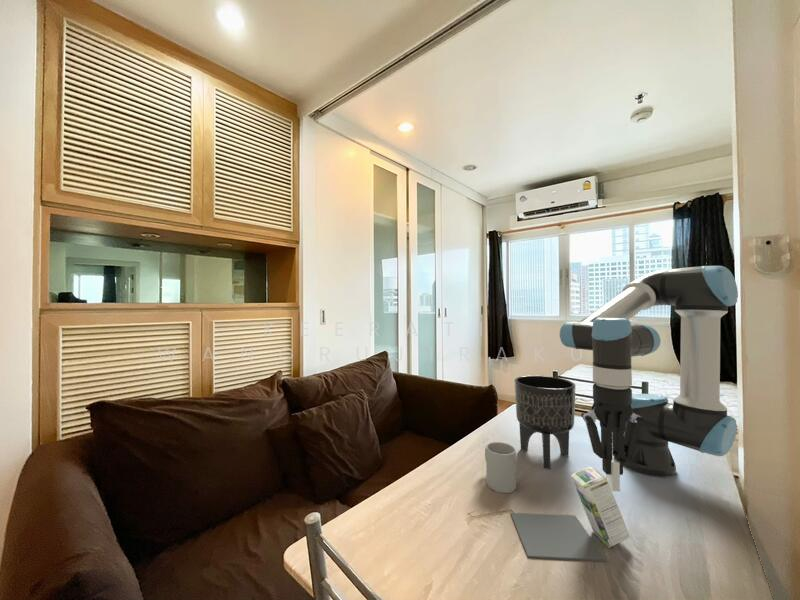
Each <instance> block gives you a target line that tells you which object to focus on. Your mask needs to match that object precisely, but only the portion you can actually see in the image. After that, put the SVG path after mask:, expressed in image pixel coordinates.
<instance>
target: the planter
mask: <svg viewBox="0 0 800 600" xmlns="http://www.w3.org/2000/svg"><path fill="white" fill-rule="evenodd" d="M514 394H515V411H516V412H515V414H516V420H517V422H518V423H519V437H520V440H519V442H520V450H522V451H524V452H526V451H527V450H528V449H529V443H530V440H531V439H530V438H532V435H534V434H536V433H538V434H541V439H542V440H541V441H542V461H543V462H542V465H543V469H548V470H551V435H553V436H554V437H555V439H556V440H557V441H558V442H557V443H558V445H559V450H560V455H562V456H563V457H569V454H570V453H569V450H570V431H571V430H573V429H574V425H575V414H576V412H575V410H576V408H575V407H576V384H575V383H574V382H573V381H571V380H568V379H565V378H561V377H556V376H555V377H554V376H549V375H548V376H547V375H523V376H518V377H516V378H515V379H514Z"/></svg>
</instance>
